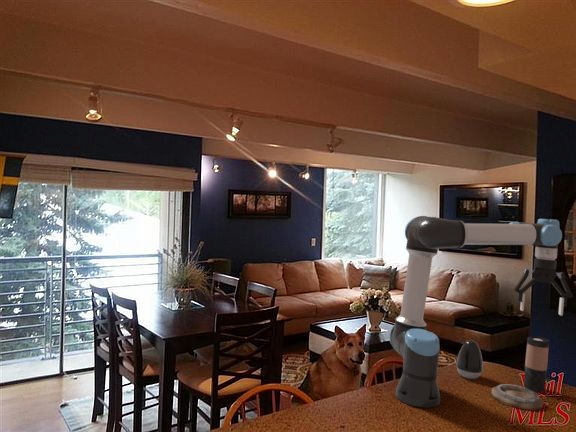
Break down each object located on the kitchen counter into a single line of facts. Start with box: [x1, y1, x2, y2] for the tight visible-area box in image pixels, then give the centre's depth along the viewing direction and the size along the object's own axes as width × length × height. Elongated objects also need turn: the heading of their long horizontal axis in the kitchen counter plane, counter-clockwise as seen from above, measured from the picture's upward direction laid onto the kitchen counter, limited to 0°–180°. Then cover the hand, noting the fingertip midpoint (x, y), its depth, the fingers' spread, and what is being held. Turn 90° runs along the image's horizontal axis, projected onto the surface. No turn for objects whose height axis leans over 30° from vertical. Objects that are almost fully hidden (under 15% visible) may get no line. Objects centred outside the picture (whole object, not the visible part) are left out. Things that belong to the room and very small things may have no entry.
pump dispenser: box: [455, 338, 484, 380], centre depth 189 cm, size 10×10×15 cm
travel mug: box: [523, 335, 550, 394], centre depth 180 cm, size 8×8×20 cm
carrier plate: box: [490, 383, 544, 411], centre depth 169 cm, size 17×17×3 cm
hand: (541, 312), depth 180 cm, fingers open, 13 cm apart
